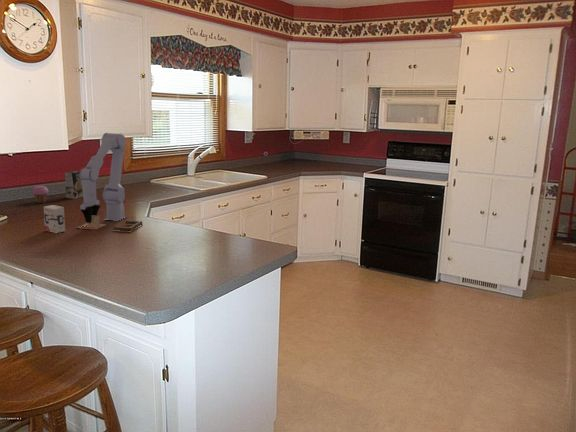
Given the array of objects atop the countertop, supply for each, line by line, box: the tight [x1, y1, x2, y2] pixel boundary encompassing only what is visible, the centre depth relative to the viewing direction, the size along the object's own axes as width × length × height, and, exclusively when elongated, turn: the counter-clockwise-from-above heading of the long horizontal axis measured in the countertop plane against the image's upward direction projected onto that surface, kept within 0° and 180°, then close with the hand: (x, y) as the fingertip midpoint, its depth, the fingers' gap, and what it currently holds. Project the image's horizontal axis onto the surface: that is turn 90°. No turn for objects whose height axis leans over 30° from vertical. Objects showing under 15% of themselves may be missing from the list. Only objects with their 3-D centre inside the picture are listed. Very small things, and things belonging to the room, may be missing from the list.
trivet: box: [77, 222, 107, 230], centre depth 228 cm, size 10×10×1 cm
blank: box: [87, 214, 101, 228], centre depth 227 cm, size 4×4×5 cm
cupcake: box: [31, 185, 50, 204], centre depth 278 cm, size 9×9×10 cm
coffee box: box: [64, 170, 83, 200], centre depth 297 cm, size 9×6×16 cm
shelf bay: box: [112, 220, 143, 231], centre depth 229 cm, size 14×8×2 cm, turn 174°
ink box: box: [43, 204, 66, 234], centre depth 216 cm, size 8×5×12 cm, turn 60°
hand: (91, 221), depth 227 cm, fingers closed on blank, 4 cm apart
